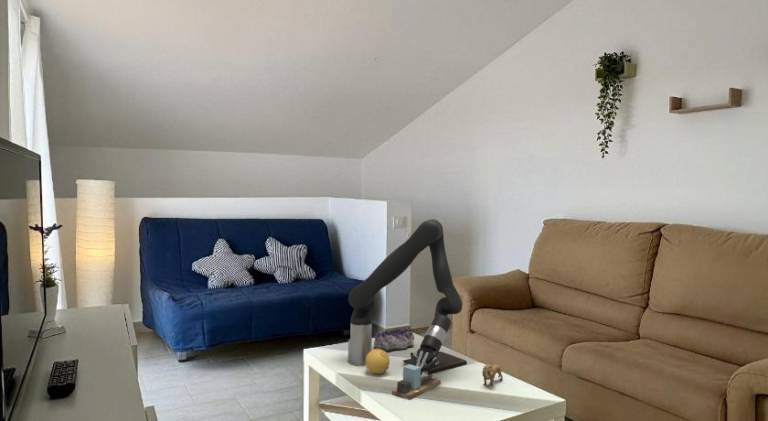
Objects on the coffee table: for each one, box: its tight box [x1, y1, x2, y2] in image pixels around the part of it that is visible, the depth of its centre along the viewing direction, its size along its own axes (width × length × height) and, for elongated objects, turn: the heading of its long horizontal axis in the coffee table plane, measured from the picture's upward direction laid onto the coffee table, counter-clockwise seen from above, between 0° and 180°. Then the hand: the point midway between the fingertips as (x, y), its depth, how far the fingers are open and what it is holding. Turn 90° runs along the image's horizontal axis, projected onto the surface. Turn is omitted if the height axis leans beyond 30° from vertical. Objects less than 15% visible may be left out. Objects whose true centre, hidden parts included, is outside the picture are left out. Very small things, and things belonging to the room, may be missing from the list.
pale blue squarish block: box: [402, 364, 422, 390], centre depth 206 cm, size 5×4×7 cm
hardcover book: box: [402, 350, 468, 376], centre depth 238 cm, size 16×23×2 cm
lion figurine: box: [481, 364, 504, 388], centre depth 217 cm, size 15×5×9 cm, turn 149°
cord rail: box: [391, 374, 442, 401], centre depth 209 cm, size 8×21×5 cm, turn 142°
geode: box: [373, 328, 415, 352], centre depth 261 cm, size 20×12×10 cm, turn 121°
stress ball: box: [365, 348, 391, 375], centre depth 225 cm, size 10×10×10 cm
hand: (415, 378), depth 208 cm, fingers closed
